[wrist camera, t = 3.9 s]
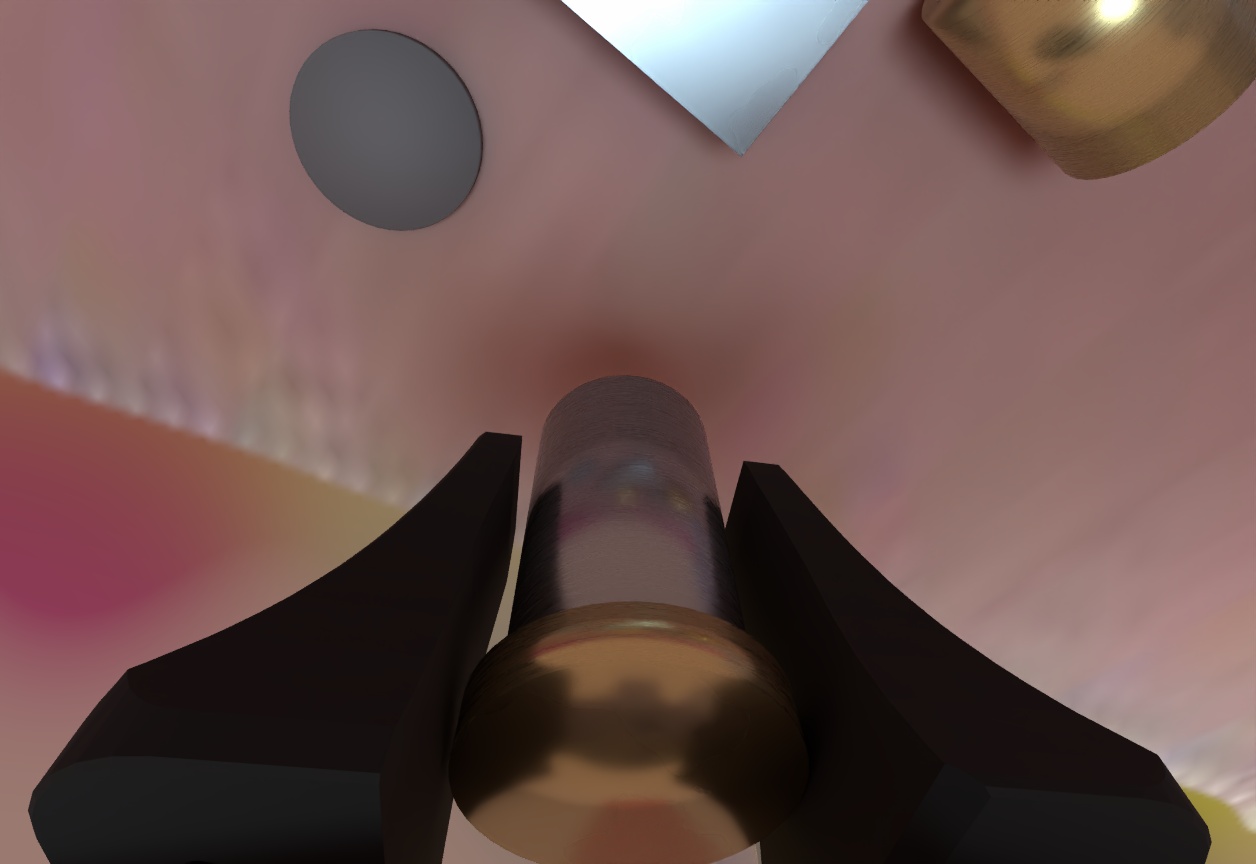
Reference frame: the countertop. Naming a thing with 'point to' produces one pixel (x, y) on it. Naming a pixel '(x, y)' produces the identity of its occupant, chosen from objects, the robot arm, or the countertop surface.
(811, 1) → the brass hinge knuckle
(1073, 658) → the countertop surface
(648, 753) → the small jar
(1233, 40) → the fixed leaf
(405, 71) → the pad
